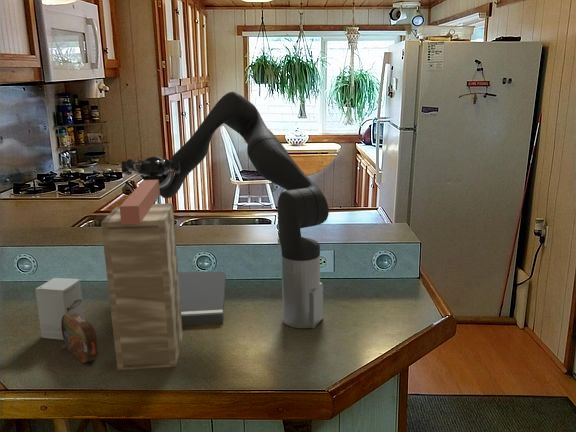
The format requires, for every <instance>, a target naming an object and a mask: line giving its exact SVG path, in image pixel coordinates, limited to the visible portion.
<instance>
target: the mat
mask: <svg viewBox="0 0 576 432" xmlns="http://www.w3.org/2000/svg"><path fill="white" fill-rule="evenodd" d="M226 274H227V273H226ZM226 274H225V272H201V271H185V272H178V278H179V291H180V305H181V318H182V326H195V325H199V326H200V325H215V324H218V325H219V324H224V314H225V297H226V283H227V282H226V281H227V280H226V279H227V275H226Z"/></svg>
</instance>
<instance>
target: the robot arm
mask: <svg viewBox="0 0 576 432" xmlns="http://www.w3.org/2000/svg"><path fill="white" fill-rule="evenodd" d="M223 124H224V125H226V126H227V127H229V128H230V129H232V130H233V131H235V132H236V133H237V134H239V135H240V136H241V137H242V138H243V139H244V141H245V142H246V144H247V147H246V148H247V151H246V153H247V156H248V159H249V162H251V164H252V165H253V167H254V169H255V170H256V171H257V173H258V174H259V175H260V176H261V177H262V178H264V179H265V180H267V181H268V182H271V183H273V184H274V185H277V186H279V187H281V188H283V189H285V190H284V191H282V192H281V193H280V194H279V196H278V198H277V199H278V200H277V219H278V221H277V222H278V236H279V237H278V238H279V243H280V248H281V250H280V251H281V284H282V285H281V288H282V289H281V291H282V293H281V294H282V295H281V296H282V321H283V323H284V324H285V325H286V326H289V327H290V328H295V329H308V328H310V329H315V328H316V327H317V325H319V324H320V322H321V321H322V320H323V318H324V309H323V308H324V284H323V282H321V245H320V243H319V242H318V241H317V240H315V239H312V238H309V237H304V236H302V234H301V233H302V232H301V229H304V228H310V227H315V226H319V225H322V224H324V223H325V222H326V221H327V219H328V218H329V214H330V209H329V205H328V204H329V203H328V201H327V198H326V197H325V195H324V194H323V191H322V190H321V189H320V188H319V187H318V186H317V185H316V184H315V182H313V181H312V179H311V178H309V177H308V175H306V173H304V171H303V170H302V169H301V168H300V167H299V166H298V163H296V162H295V160H293V158H292V157H291V155H290V154H289V152H288V151H287V149H286V148H285V147H284V145H283V144H282V143H281V142H280V140H279V139H278V138H277V137H276V135H275V134H274V133H273V132H272V131H271V130H270V129H269V128H268V126H267V125H266V124H265V122H264V120H263V118H262V116H261V114H260V112H259V110H258V109H257V107H256V106H255V105H254V104H253V103H252V102H251V101H250V100H248V99H246V98H245V97H244V96H242V95H241V94H240V93H239V92H236V91H229V92H227V93H226V94H224V95H223V96H221V98H220V99H219V100H218V101H217V103H215V105H214V106H213V108H212V109H211V110H210V112H209V113H208V114H207V115H206V117H205V118H204V119H203V121H201V123H200V124H199V126H198V128H197V129H196V131H194V133H193V134H192V136H191V137H190V138H189V139H188V140H187V141H186V142H185V143H184V144H183V145H182V146H181V147H180V148H179V149H178V150H177V151H176V152H175V153H174V154H173V155H172V156H171V157H170V159H168V158H161V157H159V156H150V157H147V158H146V159H145V160H140V159H139V160H133V159H132V158H128V160H124V161H120V163H121V172H122V173H123V174H125V175H127V176H131V175H132V174H133V173H134V174H135V175H139V176H140V177H141V179H142V181H143V180H159V189H160V195H159V196H160V197H162V198H163V199H171V198H173V197H175V195H177V194H178V192H179V191H180V189H181V187H182V186H183V183H184V182H185V180H186V178H187V177H188V175H189V174H190V173H192V171H194V169H195V168H197V166H198V165H200V164H201V162H203V160H204V159H205V157H206V156H207V154H208V151H209V148H210V144H211V140H212V139H213V136H214V133H215V132H216V131H217V130H218V129H219V128H220V127H221V126H222V125H223ZM172 172H173V173H172Z"/></svg>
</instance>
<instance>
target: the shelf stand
mask: <svg viewBox="0 0 576 432" xmlns="http://www.w3.org/2000/svg"><path fill="white" fill-rule="evenodd" d="M120 206H121V204H119V205H118V204H117V205H116V206H115V207H114V208H113V209H112V210H111V212H110V213H108V215H107V216H106V217H105V218H104V219H103V220H102V221H101V222H100V225H101V235H102V243H103V251H104V252H103V253H104V262H105V270H106V279H107V280H106V281H107V286H108V288H107V289H108V296H109V297H108V298H109V305H110V307H109V308H110V313H111V323H112V324H111V325H112V333H113V342H114V349H115V357H116V358H115V359H116V367H117V371H126V370H142V369H159V368H173V367H175V368H177V364H178V359H179V355H180V350H181V344H182V340H183V335H184V334H183V325H182V318H181V305H180V291H179V278H178V273H179V267H178V256H177V255H178V254H177V241H176V239H177V238H176V226H175V214H174V203H172V202H171V203H170V202H169V203H154V204H153V205H152V207H151V208H150V210H149V211H148V213H147V214H146V216H145V217H144V219H143V220H142V222H141V223H140V224H121V216H120Z"/></svg>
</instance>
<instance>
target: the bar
mask: <svg viewBox="0 0 576 432" xmlns="http://www.w3.org/2000/svg"><path fill="white" fill-rule="evenodd" d="M159 196H161V195H160V189H159V180H143V179H142V182H141V183H139V185H138V186H137V187H136V188H135V189H134V190H133V191H132V192H131V194H129V196H128V197H127V198H125V200H124V201H123V202H122V203H121V204H120V205H121V206H120V216H121V224H140V223H141V222H142V220H143V219H144V217H145V216H146V214H147V213H148V211H149V210H150V208H151V207H152V205H153V204H155V202H156V201H157V200H158V198H159Z"/></svg>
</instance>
